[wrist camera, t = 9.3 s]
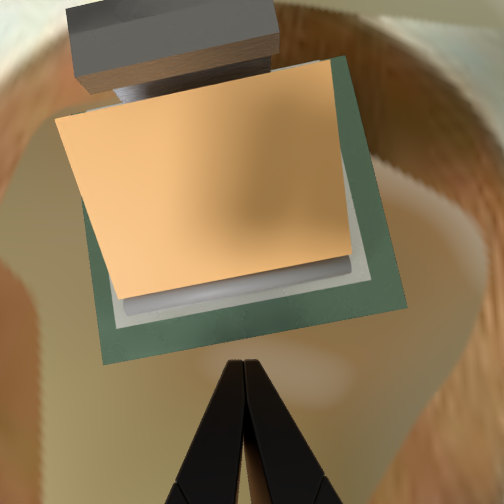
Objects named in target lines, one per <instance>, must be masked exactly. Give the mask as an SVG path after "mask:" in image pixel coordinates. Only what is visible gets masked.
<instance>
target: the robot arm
mask: <svg viewBox="0 0 504 504" xmlns="http://www.w3.org/2000/svg"><path fill="white" fill-rule="evenodd" d="M243 443H244V452H245V460H246V467H247V474H248V482H249V489H250V497H251V504H343V503H342V501H341V499H340V498H339V496H338V495H337V493H336V491H335V490H334V488H333V486H332V484H331V483H330V481H329V479H328V478H327V477H326V476H324V475H325V473H324V471H323V469H322V468H321V466H320V464H319V463H318V461H317V459H316V457H315V456H314V454H313V452H312V451H311V449H310V447H309V446H308V444H307V442H306V440H305V439H304V437H303V435H302V433H301V432H300V430H299V429H298V427H297V425H296V423H295V421H294V420H293V418H292V416H291V415H290V413H289V411H288V410H287V408H286V406H285V404H284V403H283V401H282V399H281V398H280V396H279V394H278V392H277V391H276V389H275V387H274V386H273V384H272V382H271V380H270V379H269V377H268V375H267V374H266V372H265V370H264V368H263V367H262V365H261V363H260V362H259V361H258V360H256V359H246V360H244V361H242V360H228V362H227V363H226V365H225V368H224V370H223V372H222V375H221V377H220V379H219V381H218V383H217V386H216V388H215V390H214V393H213V395H212V397H211V399H210V402H209V404H208V406H207V409H206V411H205V413H204V416H203V418H202V420H201V422H200V425H199V427H198V429H197V431H196V434H195V436H194V438H193V441H192V443H191V445H190V447H189V450H188V452H187V454H186V457H185V459H184V461H183V463H182V466H181V468H180V470H179V473H178V475H177V477H176V479H175V482H176V483H174V484H173V486H172V488H171V490H170V493H169V495H168V497H167V499H166V502H165V504H238V493H239V483H240V472H241V461H242V449H243V447H242V446H243Z"/></svg>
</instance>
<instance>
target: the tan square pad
mask: <svg viewBox="0 0 504 504" xmlns="http://www.w3.org/2000/svg"><path fill="white" fill-rule="evenodd" d="M55 122H56V125H57V127H58V130H59V133H60V136H61V139H62V142H63V145H64V147H65V150H66V153H67V156H68V158H69V162H70V164H71V167H72V170H73V173H74V176H75V179H76V181H77V184H78V187H79V190H80V193H81V196H82V198H83V201H84V204H85V207H86V210H87V213H88V215H89V218H90V221H91V224H92V227H93V230H94V232H95V235H96V238H97V241H98V244H99V247H100V249H101V252H102V255H103V258H104V261H105V264H106V266H107V269H108V272H109V275H110V278H111V281H112V283H113V286H114V289H115V292H116V295H117V298H118V300H119V299H123V308H124V311H125V313H126V315H127V316H132V315H137V314H143V313H148V312H153V311H158V310H163V309H169V308H174V307H179V306H184V305H189V304H194V303H200V302H205V301H210V300H215V299H220V298H226V297H231V296H236V295H241V294H246V293H251V292H257V291H262V290H267V289H272V288H277V287H283V286H288V285H293V284H298V283H303V282H308V281H314V280H319V279H324V278H329V277H334V276H339V275H345V274H350V273H351V272H352V267H351V261H350V258H349V255H350V254H352V247H351V239H350V230H349V221H348V212H347V203H346V195H345V186H344V177H343V168H342V160H341V151H340V142H339V133H338V124H337V116H336V107H335V98H334V89H333V80H332V72H331V63H330V60H325V61H321V62H316V63H311V64H307V65H302V66H297V67H293V68H288V69H284V70H279V71H274V72H270V73H265V74H260V75H256V76H251V77H247V78H242V79H237V80H233V81H228V82H224V83H219V84H214V85H210V86H205V87H200V88H196V89H191V90H187V91H182V92H177V93H173V94H168V95H164V96H159V97H154V98H150V99H145V100H140V101H136V102H131V103H127V104H122V105H117V106H113V107H108V108H103V109H99V110H94V111H90V112H85V113H80V114H76V115H71V116H67V117H62V118H57V119H55Z"/></svg>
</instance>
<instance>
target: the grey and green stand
mask: <svg viewBox="0 0 504 504" xmlns="http://www.w3.org/2000/svg"><path fill="white" fill-rule="evenodd" d="M66 15H67V23H68V30H69V38H70V45H71V53H72V60H73V68H74V75H75V78H76V79H77V80H78V81H79V82H80V84H81V85H82V86H83V87H84V88H85V89H86V90H87V91H88V92H89V93H90V94H96V93H100V92H105V91H109V90H113V91H114V92H115V93H116V95H117V96H118V97H119V99H120V100H121V101H122V102H123V103H118V104H114V105H109V106H105V107H100V108H95V109H91V110H87V111H86V112H90V111H94V110H99V109H103V108H108V107H113V106H117V105H122V104H127V103H131V102H136V101H140V100H145V99H150V98H154V97H159V96H164V95H168V94H173V93H177V92H182V91H187V90H191V89H196V88H200V87H205V86H210V85H214V84H219V83H224V82H228V81H233V80H237V79H242V78H247V77H251V76H256V75H260V74H265V73H270V72H274V71H279V70H284V69H288V68H293V67H297V66H302V65H307V64H311V63H316V62H321V61H325V60H330V63H331V72H332V80H333V89H334V98H335V107H336V116H337V124H338V133H339V142H340V151H341V160H342V168H343V177H344V186H345V195H346V203H347V212H348V221H349V230H350V239H351V247H352V254H350V255H349V258H350V261H351V267H352V272H351V273H350V274H345V275H339V276H334V277H329V278H324V279H319V280H314V281H308V282H303V283H298V284H293V285H288V286H283V287H277V288H272V289H267V290H262V291H257V292H251V293H246V294H241V295H236V296H231V297H226V298H220V299H215V300H210V301H205V302H200V303H194V304H189V305H184V306H179V307H174V308H169V309H163V310H158V311H153V312H148V313H143V314H137V315H132V316H127V315H126V313H125V311H124V308H123V299H119V300H118V298H117V295H116V292H115V289H114V286H113V283H112V281H111V278H110V275H109V272H108V269H107V266H106V264H105V261H104V258H103V255H102V252H101V249H100V247H99V244H98V241H97V238H96V235H95V232H94V230H93V227H92V224H91V221H90V218H89V215H88V213H87V210H86V207H85V204H84V201H83V198H82V196H81V198H82V206H83V214H84V221H85V229H86V237H87V244H88V252H89V260H90V268H91V275H92V282H93V291H94V298H95V306H96V313H97V321H98V329H99V337H100V344H101V352H102V360H103V365H107V364H112V363H118V362H123V361H128V360H134V359H139V358H144V357H149V356H155V355H160V354H166V353H171V352H176V351H182V350H187V349H192V348H197V347H203V346H208V345H213V344H219V343H224V342H229V341H234V340H240V339H245V338H251V337H256V336H261V335H266V334H272V333H276V332H283V331H288V330H293V329H298V328H304V327H309V326H314V325H320V324H325V323H330V322H335V321H341V320H346V319H352V318H357V317H362V316H368V315H373V314H378V313H383V312H389V311H394V310H399V309H405V308H408V307H407V303H406V299H405V295H404V291H403V287H402V283H401V279H400V274H399V270H398V267H397V262H396V258H395V254H394V250H393V246H392V242H391V238H390V234H389V230H388V226H387V222H386V218H385V214H384V210H383V206H382V202H381V198H380V194H379V189H378V185H377V181H376V177H375V173H374V169H373V165H372V161H371V157H370V153H369V149H368V145H367V141H366V137H365V133H364V129H363V125H362V121H361V117H360V113H359V108H358V104H357V100H356V96H355V92H354V88H353V84H352V80H351V76H350V72H349V68H348V64H347V60H346V56H345V55H344V56H339V57H334V58H330V59H325V60H321V61H320V60H317V61H312V62H307V63H303V64H298V65H294V66H289V67H284V68H280V69H275V70H271V55H274V54H279V44H280V31H279V26H278V22H277V17H276V13H275V8H274V4H273V0H103V1H98V2H94V3H89V4H85V5H81V6H76V7H72V8H68V9H66ZM81 113H85V112H81ZM76 114H80V113H76ZM76 114H71V115H76Z"/></svg>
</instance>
